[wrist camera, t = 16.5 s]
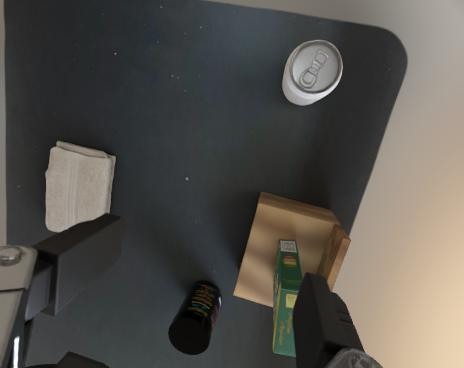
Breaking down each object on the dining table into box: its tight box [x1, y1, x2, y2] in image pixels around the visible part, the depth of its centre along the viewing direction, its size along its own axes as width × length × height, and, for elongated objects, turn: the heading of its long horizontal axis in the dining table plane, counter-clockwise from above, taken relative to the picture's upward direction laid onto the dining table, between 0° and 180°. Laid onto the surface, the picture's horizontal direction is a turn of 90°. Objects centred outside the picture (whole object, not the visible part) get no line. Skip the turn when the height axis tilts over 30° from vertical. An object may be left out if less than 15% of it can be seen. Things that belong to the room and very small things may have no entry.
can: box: [282, 40, 343, 105], centre depth 35 cm, size 6×6×12 cm
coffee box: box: [273, 239, 303, 357], centre depth 33 cm, size 8×3×13 cm, turn 176°
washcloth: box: [45, 141, 116, 233], centre depth 49 cm, size 12×18×3 cm, turn 169°
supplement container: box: [168, 282, 222, 355], centre depth 46 cm, size 7×7×10 cm
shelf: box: [234, 192, 351, 307], centre depth 41 cm, size 16×12×12 cm
